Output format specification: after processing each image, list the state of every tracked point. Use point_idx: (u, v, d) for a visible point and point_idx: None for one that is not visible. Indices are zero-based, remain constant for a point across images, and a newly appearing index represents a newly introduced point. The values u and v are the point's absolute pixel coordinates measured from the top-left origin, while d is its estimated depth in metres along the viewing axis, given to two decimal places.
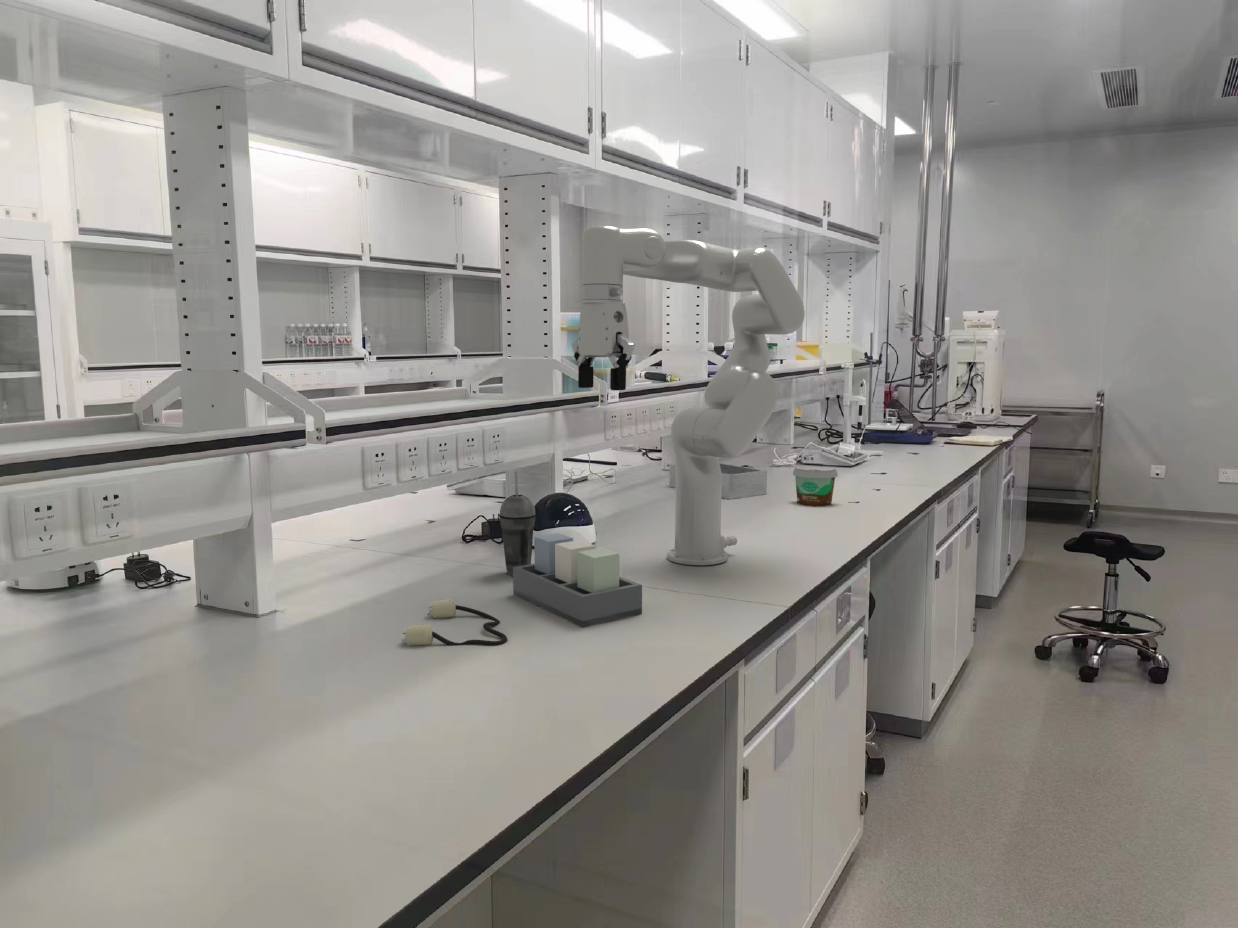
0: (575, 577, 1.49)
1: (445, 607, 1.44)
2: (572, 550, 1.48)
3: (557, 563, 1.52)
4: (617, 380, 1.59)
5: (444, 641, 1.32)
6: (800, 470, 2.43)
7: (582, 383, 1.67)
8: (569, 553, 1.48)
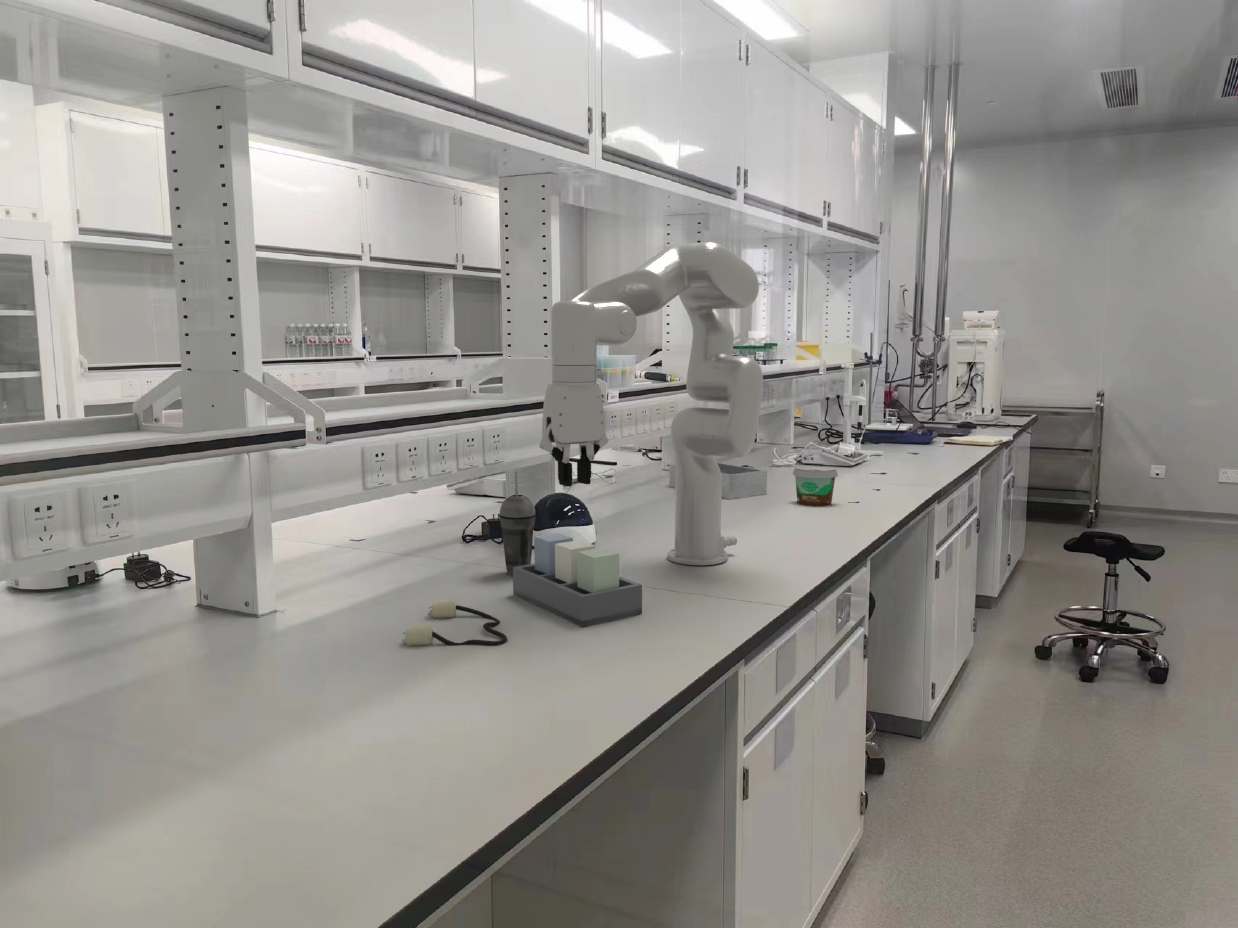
0: (575, 577, 1.49)
1: (445, 607, 1.44)
2: (572, 550, 1.48)
3: (557, 563, 1.52)
4: (590, 473, 1.51)
5: (444, 641, 1.32)
6: (800, 470, 2.43)
7: None
8: (569, 553, 1.48)
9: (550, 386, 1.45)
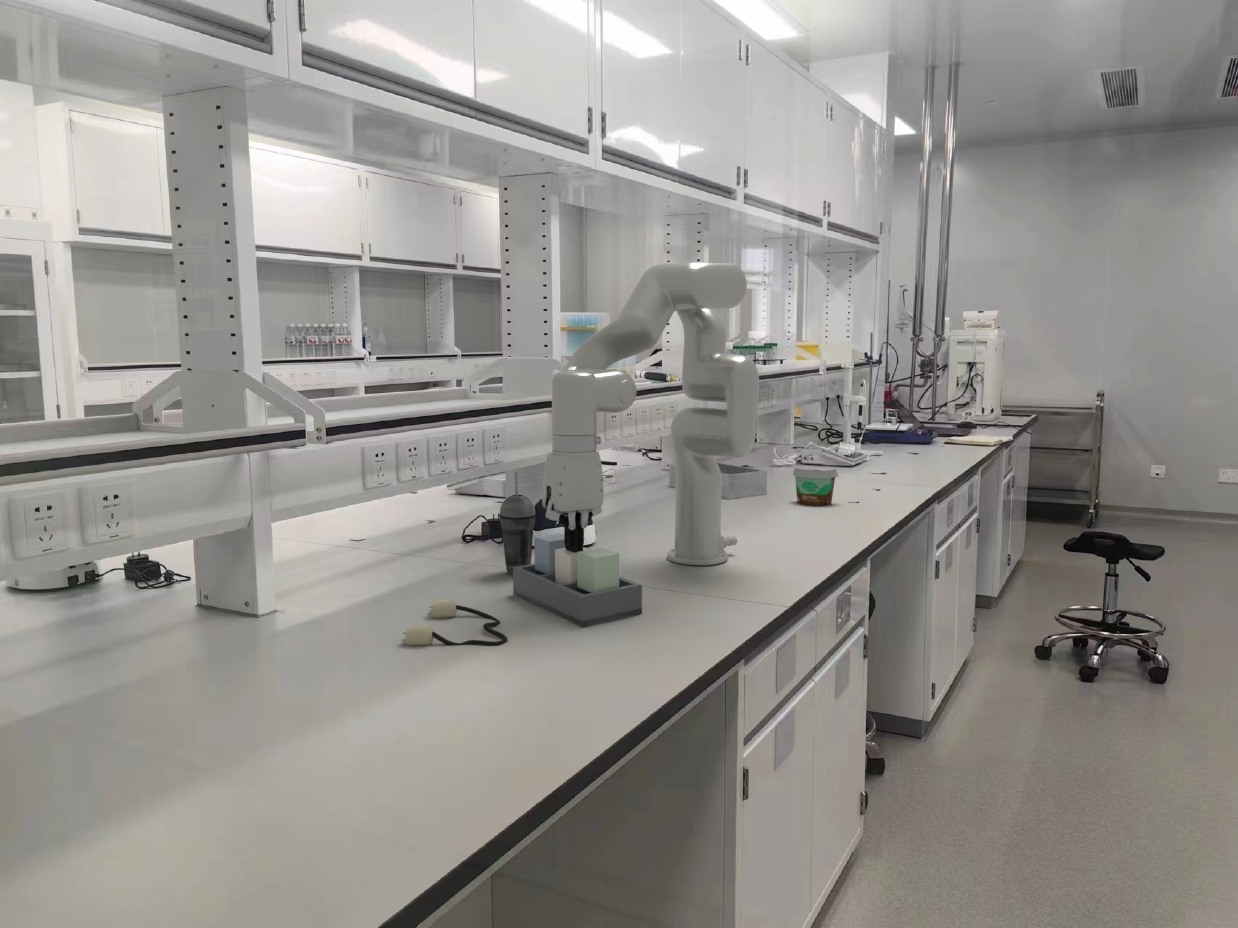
0: None
1: (445, 607, 1.44)
2: (572, 556, 1.48)
3: (557, 569, 1.52)
4: (582, 540, 1.51)
5: (444, 641, 1.32)
6: (800, 470, 2.43)
7: None
8: (569, 559, 1.48)
9: (550, 455, 1.47)
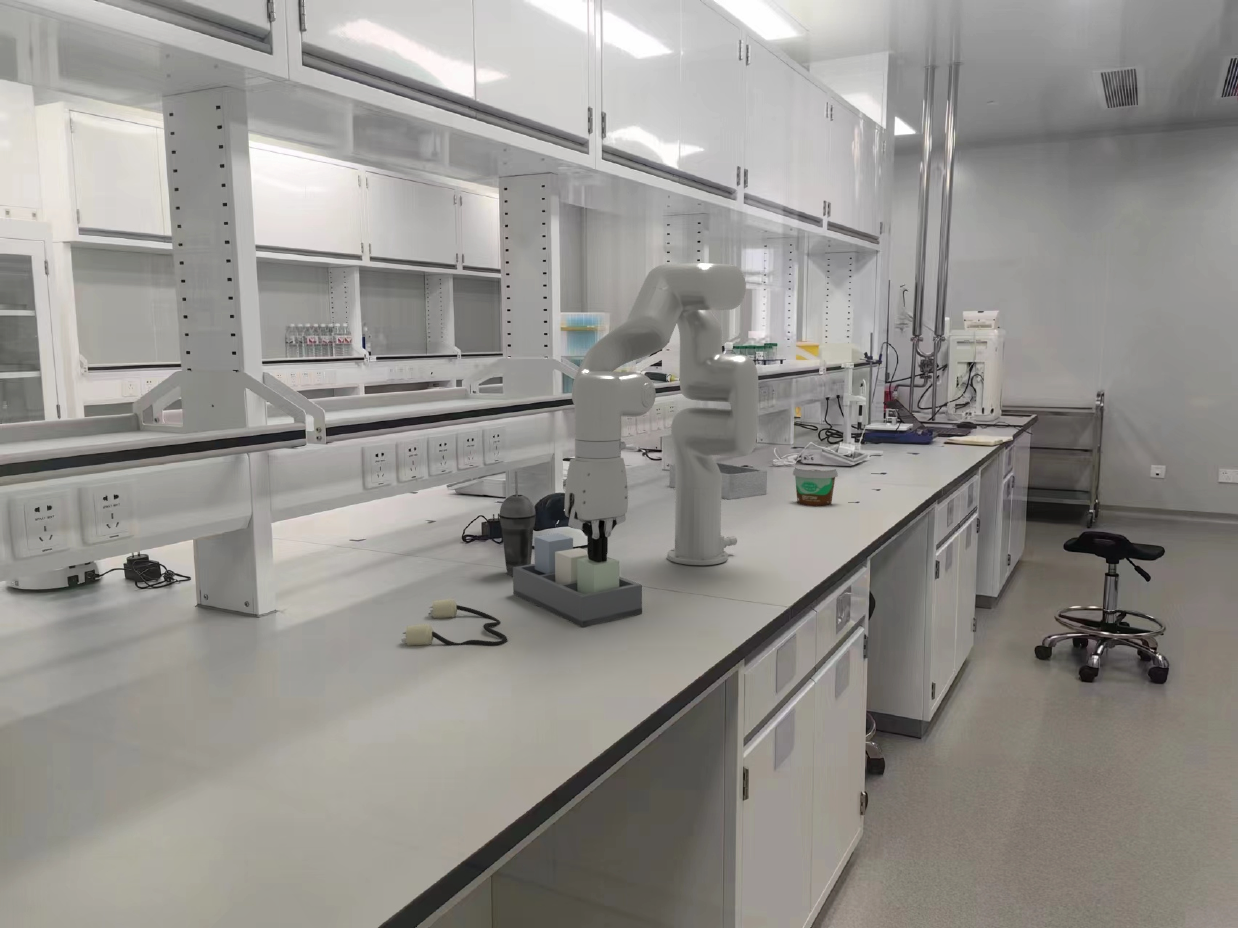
0: None
1: (446, 607, 1.44)
2: (572, 558, 1.48)
3: (557, 571, 1.52)
4: (606, 549, 1.46)
5: (444, 641, 1.32)
6: (800, 470, 2.43)
7: None
8: (569, 561, 1.49)
9: (573, 462, 1.41)
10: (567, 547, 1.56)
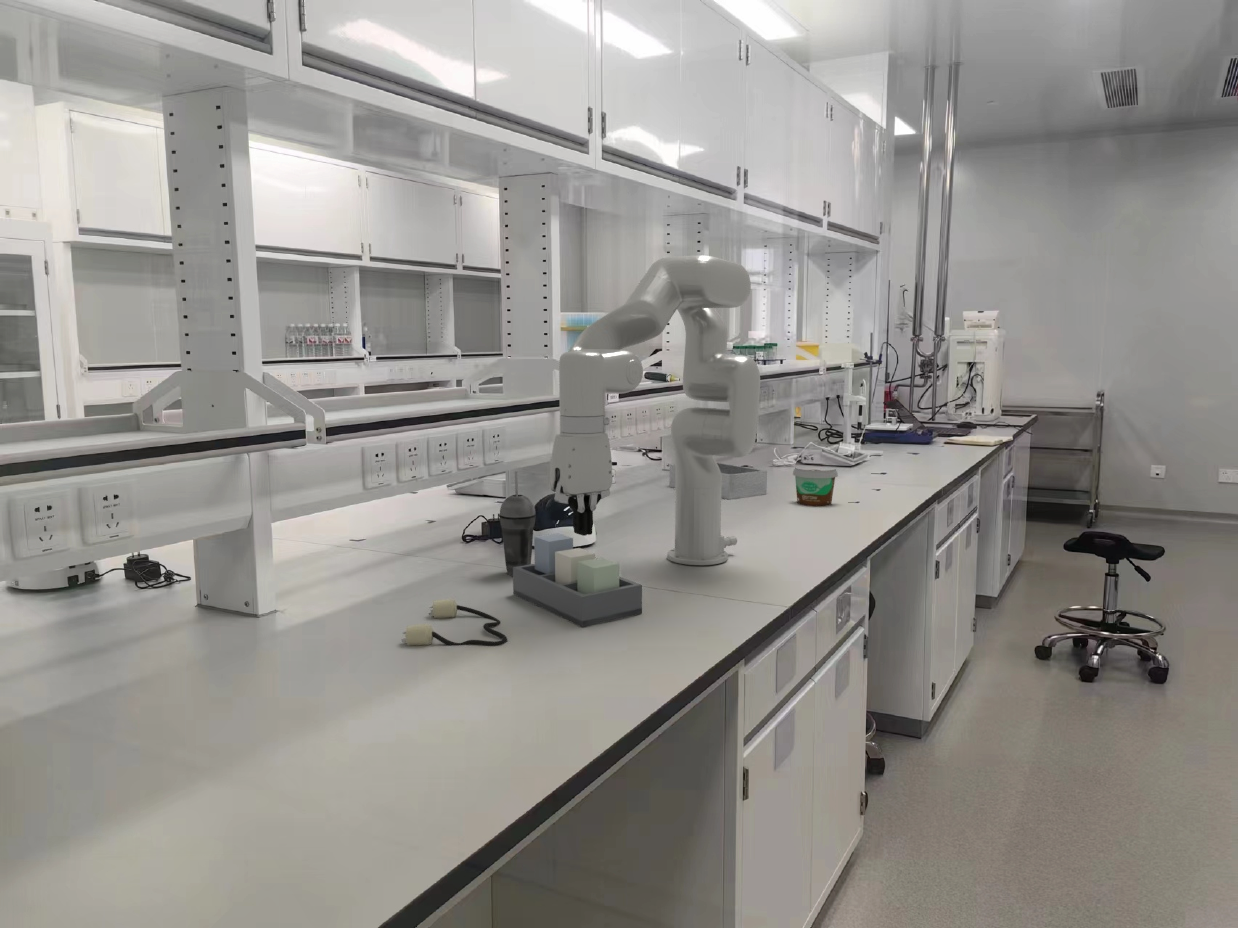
0: None
1: (446, 607, 1.44)
2: (572, 558, 1.48)
3: (557, 571, 1.52)
4: (591, 523, 1.49)
5: (444, 641, 1.32)
6: (800, 470, 2.43)
7: None
8: (569, 561, 1.49)
9: (559, 437, 1.44)
10: (567, 547, 1.56)
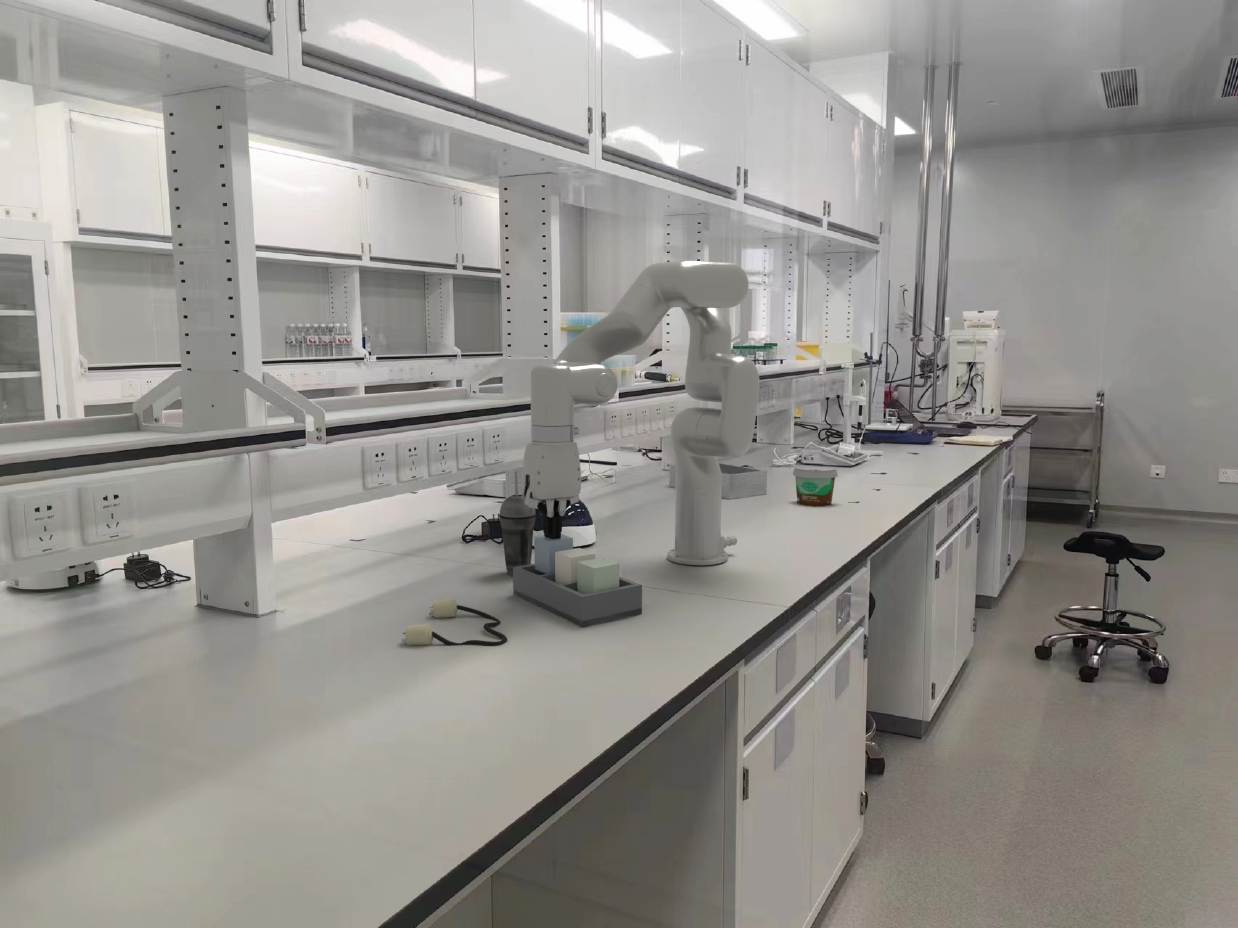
0: None
1: (446, 607, 1.44)
2: (572, 558, 1.48)
3: (557, 571, 1.52)
4: (560, 527, 1.57)
5: (444, 641, 1.32)
6: (800, 470, 2.43)
7: None
8: (569, 561, 1.49)
9: (529, 445, 1.52)
10: (567, 547, 1.56)
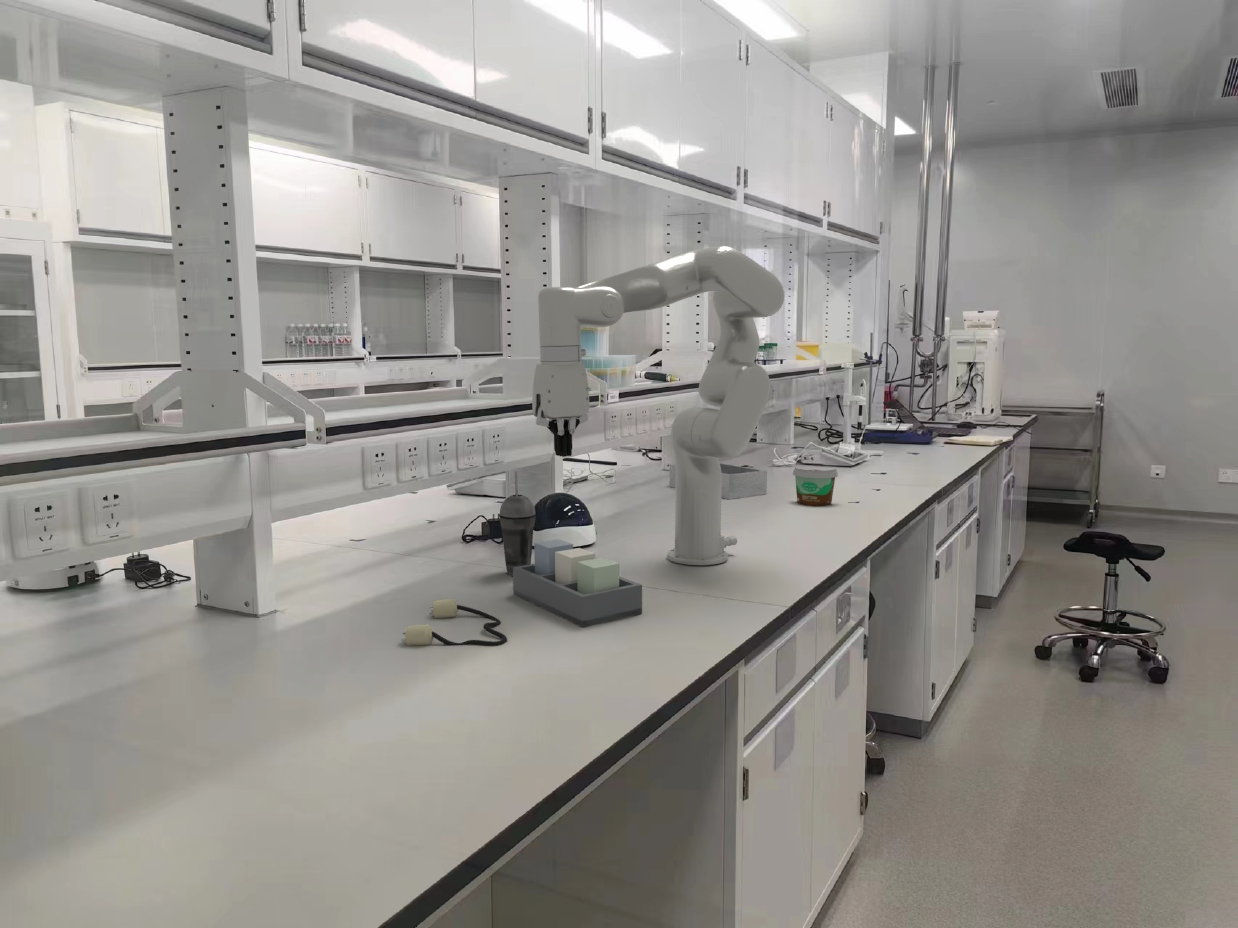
0: None
1: (446, 607, 1.44)
2: (572, 558, 1.48)
3: (557, 571, 1.52)
4: None
5: (444, 641, 1.32)
6: (800, 470, 2.43)
7: None
8: (569, 561, 1.49)
9: (539, 366, 1.58)
10: None
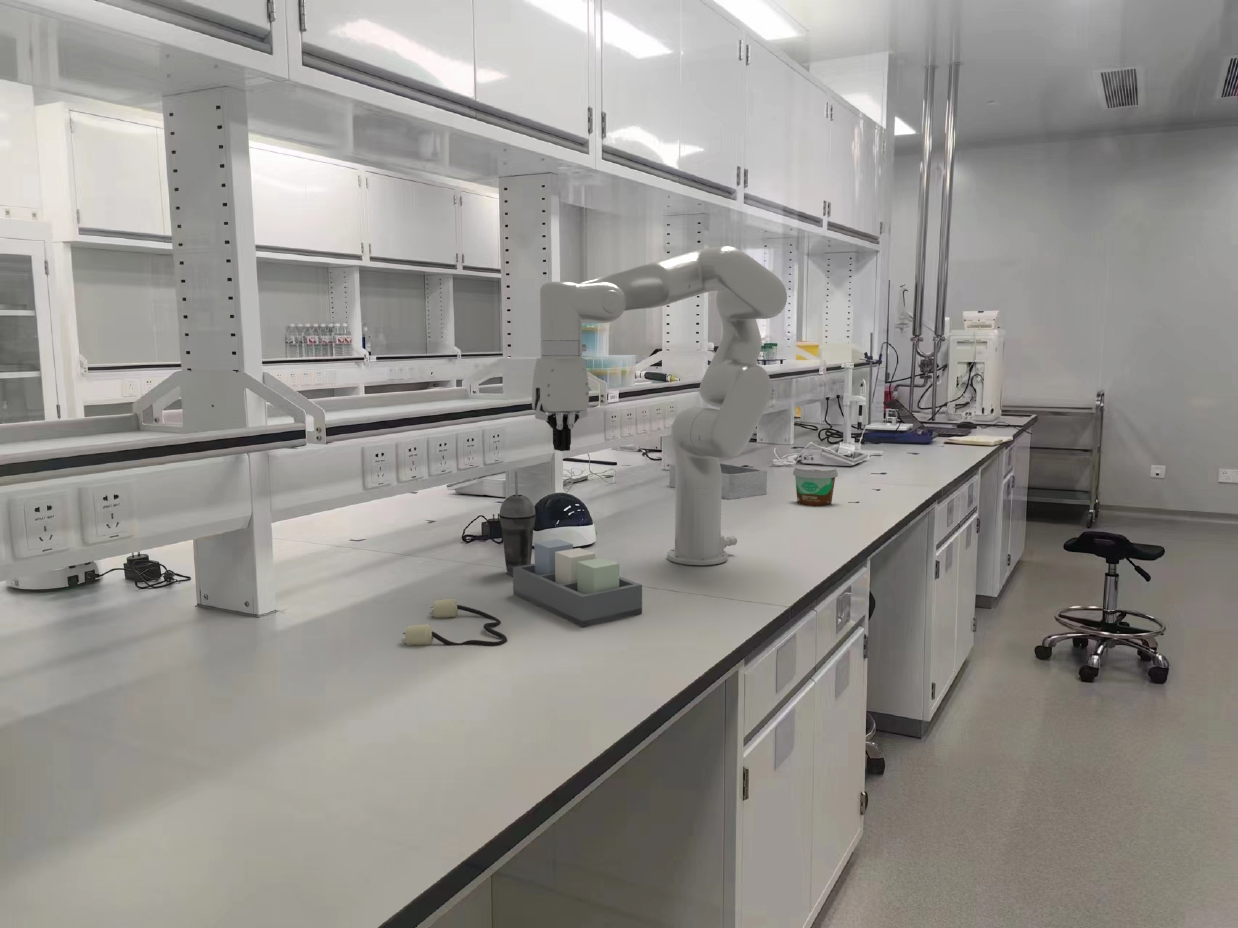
0: None
1: (446, 607, 1.45)
2: (572, 558, 1.48)
3: (557, 571, 1.52)
4: (569, 440, 1.63)
5: (444, 641, 1.32)
6: (800, 470, 2.43)
7: None
8: (569, 561, 1.49)
9: (539, 359, 1.59)
10: None
